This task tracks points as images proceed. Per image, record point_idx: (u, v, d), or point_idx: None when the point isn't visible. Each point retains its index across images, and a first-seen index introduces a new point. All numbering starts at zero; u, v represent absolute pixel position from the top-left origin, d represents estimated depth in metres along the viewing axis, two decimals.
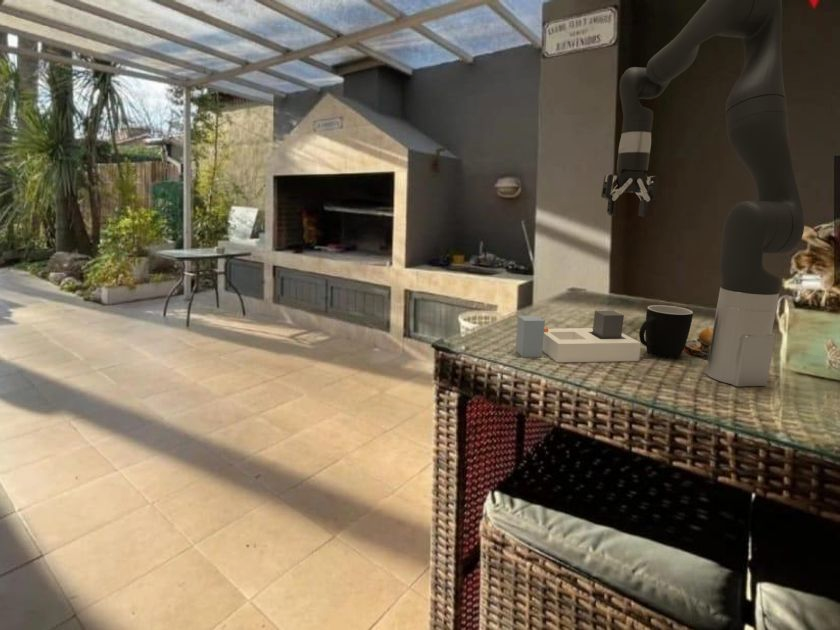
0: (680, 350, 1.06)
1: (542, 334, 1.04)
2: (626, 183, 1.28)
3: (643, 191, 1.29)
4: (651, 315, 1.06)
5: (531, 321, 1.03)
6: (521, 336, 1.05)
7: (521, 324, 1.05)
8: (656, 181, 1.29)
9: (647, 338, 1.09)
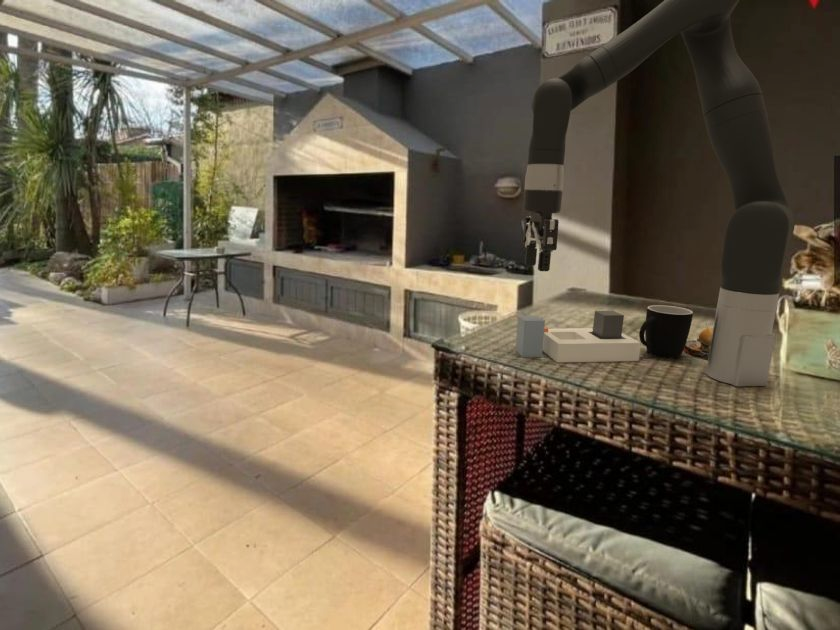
0: (680, 350, 1.06)
1: (542, 334, 1.04)
2: None
3: None
4: (651, 315, 1.06)
5: (531, 321, 1.03)
6: (521, 336, 1.05)
7: (521, 324, 1.05)
8: None
9: (647, 338, 1.09)
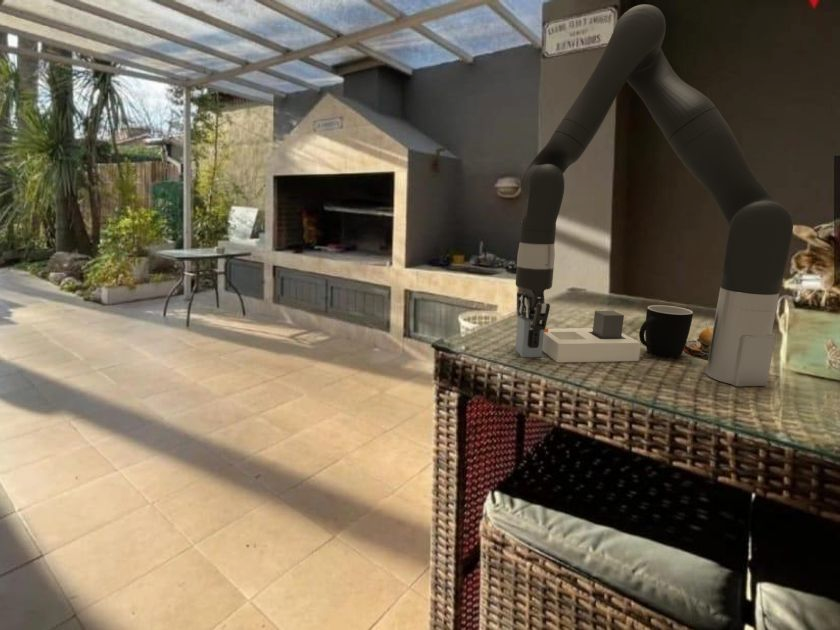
0: (680, 350, 1.06)
1: (542, 334, 1.04)
2: None
3: None
4: (651, 315, 1.06)
5: None
6: (521, 336, 1.05)
7: (521, 324, 1.05)
8: None
9: (647, 338, 1.09)
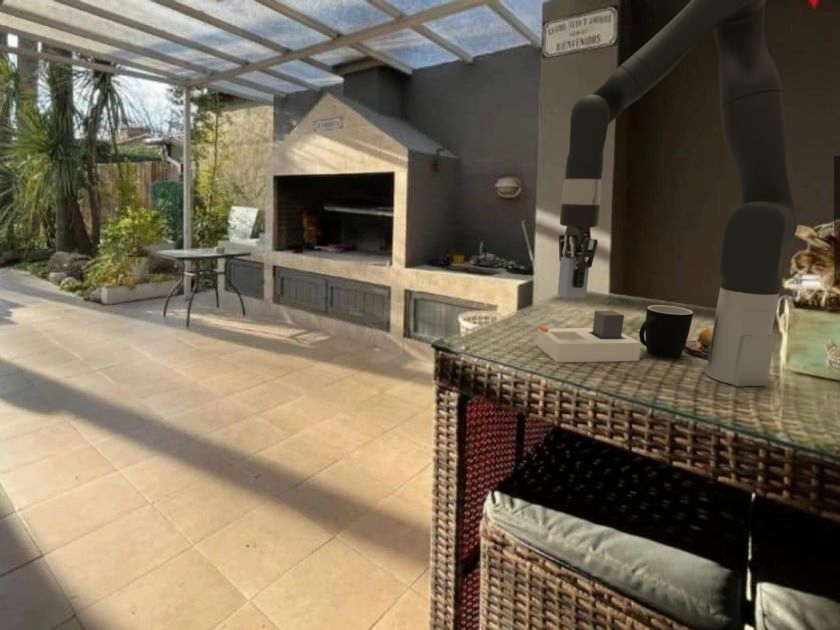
0: (680, 350, 1.06)
1: (587, 274, 1.02)
2: None
3: None
4: (651, 315, 1.06)
5: None
6: (565, 276, 1.03)
7: (565, 263, 1.03)
8: None
9: (647, 338, 1.09)
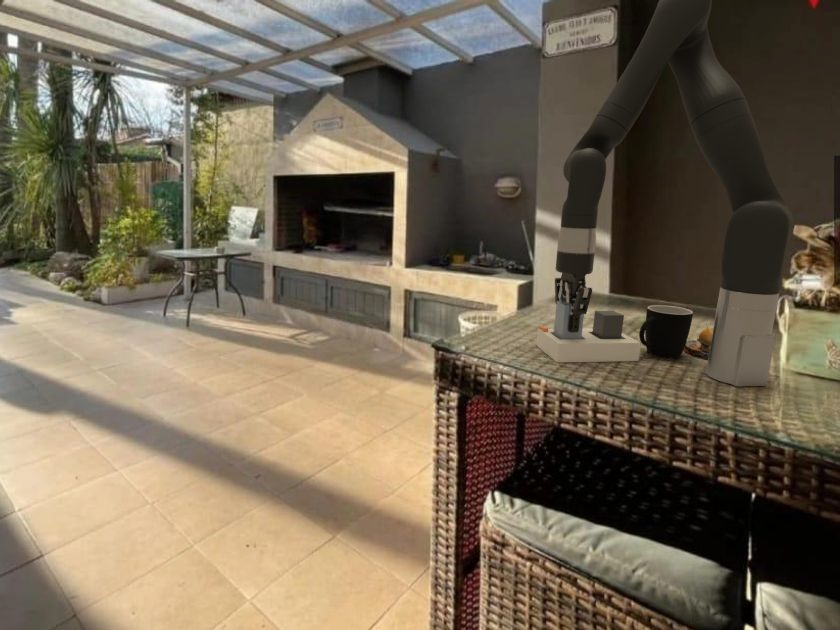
0: (680, 350, 1.06)
1: (582, 319, 1.05)
2: None
3: None
4: (651, 315, 1.06)
5: None
6: (561, 321, 1.05)
7: (561, 308, 1.05)
8: None
9: (647, 338, 1.09)
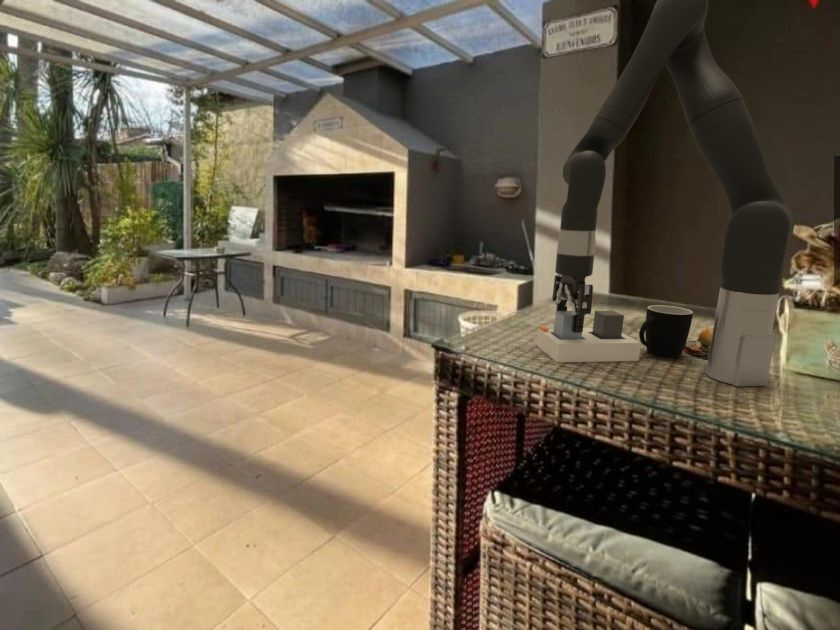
0: (680, 350, 1.06)
1: None
2: None
3: None
4: (651, 315, 1.06)
5: (570, 316, 1.04)
6: (560, 331, 1.06)
7: (560, 319, 1.06)
8: None
9: (647, 338, 1.09)
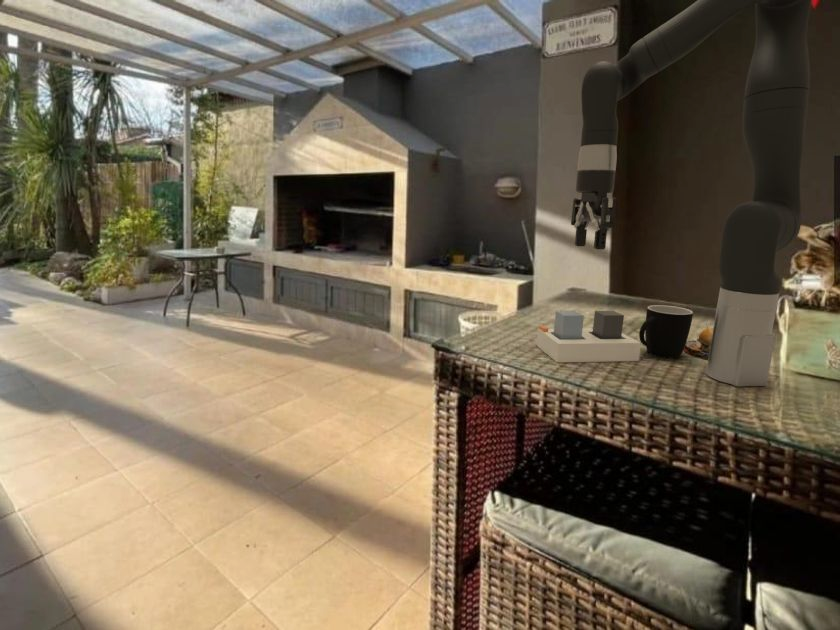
0: (680, 350, 1.06)
1: (581, 329, 1.05)
2: None
3: None
4: (651, 315, 1.06)
5: (570, 316, 1.04)
6: (560, 331, 1.06)
7: (560, 319, 1.06)
8: None
9: (647, 338, 1.09)
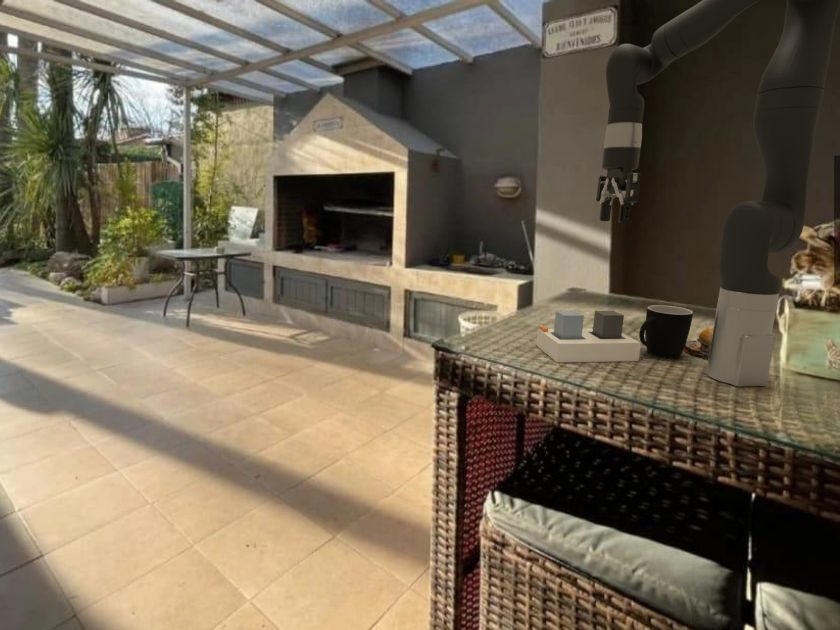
0: (680, 350, 1.06)
1: (581, 329, 1.05)
2: None
3: None
4: (651, 315, 1.06)
5: (570, 316, 1.04)
6: (560, 331, 1.06)
7: (560, 319, 1.06)
8: None
9: (647, 338, 1.09)
